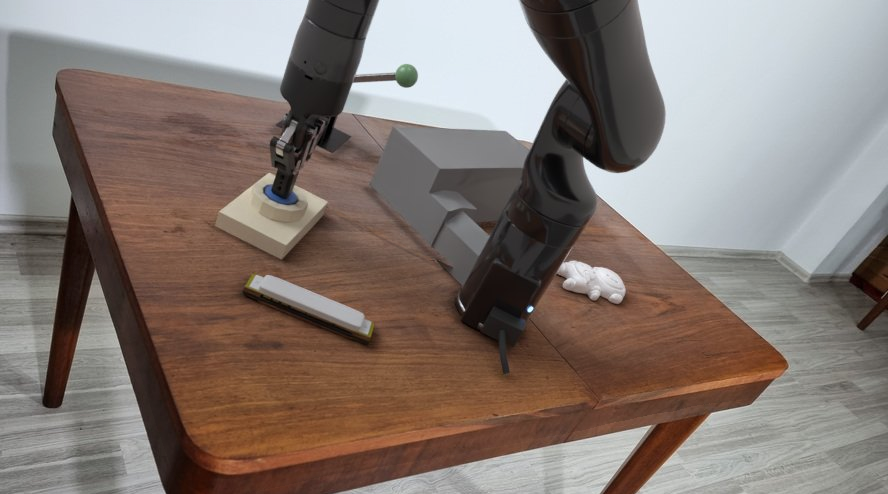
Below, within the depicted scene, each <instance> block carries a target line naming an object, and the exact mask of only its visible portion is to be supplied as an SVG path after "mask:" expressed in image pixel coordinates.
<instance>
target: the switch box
mask: <svg viewBox="0 0 888 494" xmlns="http://www.w3.org/2000/svg"><path fill="white" fill-rule="evenodd" d="M275 176H276V174H273V173H271V172H268V173H267V174H265V175H264V176H263V177H261V178H260V179H259V180H258V181H256V182H255V183H254V184H252V185H251V186H249V187H248V188H247V189H246V190H245V191H243V192H241V194H240V195H238V196H237V197H236V198H234V199H233V200H232V201H231V202H229V203H228V204H227V205H225V206H224V207H223V208H222V209H220V210H219V211H218V214H217V218H216V221H215V225H214V227H215V228H218V229H220V230H222V231H224V232H226V233H228V234H230V235H231V236H233V237H236V238H237V239H240V240H242V241H243V242H245V243H247V244H249V245H251V246H253V247H255V248H257V249H259V250H262V251H263V252H265V253H267V254H269V255H272V256H274V257H275V258H277V259H280V260H283V259H284V258H285V257H286V255H288V253H289V252H291V251H292V250H293V248H294V247H296V245H297V244H298V243H299V242H300V241H301V240H303V238H304V237H305V236H306V234H308V233H309V231H310V230H311V229H313V227H314V226H315V225H316V224H317V223H318V222H319V221H320V219H322V218H323V216H324V215H325V212H326V210H327V208H328V205H329V201H327V200H325V199H324V198H322V197H319V196H317V195H315V194H314V193H311V192H309V191H307V190H305V189H304V188H301V187H299V186H297V185H296V184H295V185H294V188H293V192H294V193H295V195H296V197H297V200H296V203H295V205H283V204H278V203H276V202H274V201H272V200H270V199H269V198H268V197H267V196H266V195H265V194H264V193H265V189H266V188H267V187H268V186H270V185H273V183H274V179H275Z"/></svg>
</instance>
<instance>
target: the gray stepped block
mask: <svg viewBox="0 0 888 494" xmlns="http://www.w3.org/2000/svg"><path fill="white" fill-rule="evenodd" d="M529 150H530V148H528V147H527V146H526V145H524V144H523V143H522V142H521V141H519V140H518V139H517V138H515V136H513V135H511V134H510V133H509V132H508V131H507V130H496V129H495V130H493V129H492V130H491V129H471V128H470V129H469V128H468V129H467V128H447V127H444V128H443V127H441V128H440V127H424V126H423V127H419V126H396V125H392V128H391V130H390V132H389V136H388V137H387V140H386V143H385V145H384V148H383V150H382V152H381V156H380V157H379V160H378V162H377V165H376V168H375V170H374V173H373V175H372V177H371V181H370V182H369V185H370V186H371V187H372V189H374V191H375V192H377V194H378V195H380V197H382V198H383V199H384V201H385V202H386V203H388V205H389V206H390V207H391V208H392V209H394V210H395V212H396V213H397V214H398V215H399V216H400V217H401V218H402V219H403V220H404V221H405V222H406V223H407V224H408V225H409V226H410V227H411V228H412V229H413V230H414V231H415V232H416V233H417V234H418V235H419V236H420V237H421V238H422V239H423V240H424V241H425V242H426V243H427V244H428V245H429V246H430V247H433V248H434V249H435V250H436V252H437V253H438V254H439V255H440V256H441V257H442V258H443V259H444V260H445V261H446V262H447V263H448V264H447V263H445V262H442V261H441V260H438V259H437V258H436V259H435V260H436V261H437V262H438V263H439V264H440V266H442V267H443V268H444V269H445V270H446V271H447V272H448V273H449V274H450V276H452V278H453V279H454V280H456V281H457V283H458V284H459V285H460V286H462V287H463V285H464V283H465V281H466V280H467V278H468V276H469V274H470V272H471V270H472V268H473V266H474V264H475V262H476V261H477V259H478V257H479V255H480V253H481V251H482V249H483V247H484V246H485V244H486V242H487V240H488V238H489V236H490V234H488V233H487V232H486V231H485V230H484V229H483V228H482V227H480V226H479V224H477V223H488V222H497V221H498V219H499V218H500V216H501V214H502V212H503V210H504V208H505V207H506V205H507V203H508V201H509V199H510V197H511V195H512V194H513V192H514V190H515V188H516V186H517V184H518V182H519V180H520V178H521V176H522V170H523V164H524V161H525V158H526V156H527V154H528V152H529Z"/></svg>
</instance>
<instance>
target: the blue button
mask: <svg viewBox="0 0 888 494" xmlns="http://www.w3.org/2000/svg"><path fill="white" fill-rule="evenodd" d="M272 186H273V185H270V186H268V187H267V188H266V189H265V193H264V194H265V195H266V196H267V197H268V198H269V199H270V200H272V201H274V202H276V203H278V204H283V205H295V203H296V200H297V197H296V195H295V193H294V192H293V191H292V194H291V195H289V196H288V197H287V198H286V199H283V198H281V197H279V196H277V195H275V194H273V193H272V191H271V189H272Z"/></svg>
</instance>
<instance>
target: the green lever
mask: <svg viewBox="0 0 888 494" xmlns="http://www.w3.org/2000/svg"><path fill="white" fill-rule="evenodd" d="M418 79H419V73H418V70H417V68H416V66H414V65H412V64H410V63H403V64H400V66H398V68H397V69H396V70H395V71H394V72H381V73H379V72H378V73H361V74H356V75H355V78H354V81H353V83H352V84H356V83H374V82H375V83H377V82H393V81H395V82H396V83H397V85H398V86H399V87H402V88H407V89H409V88H411V87H414V86H415V85H416V83H417V82H418Z"/></svg>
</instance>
